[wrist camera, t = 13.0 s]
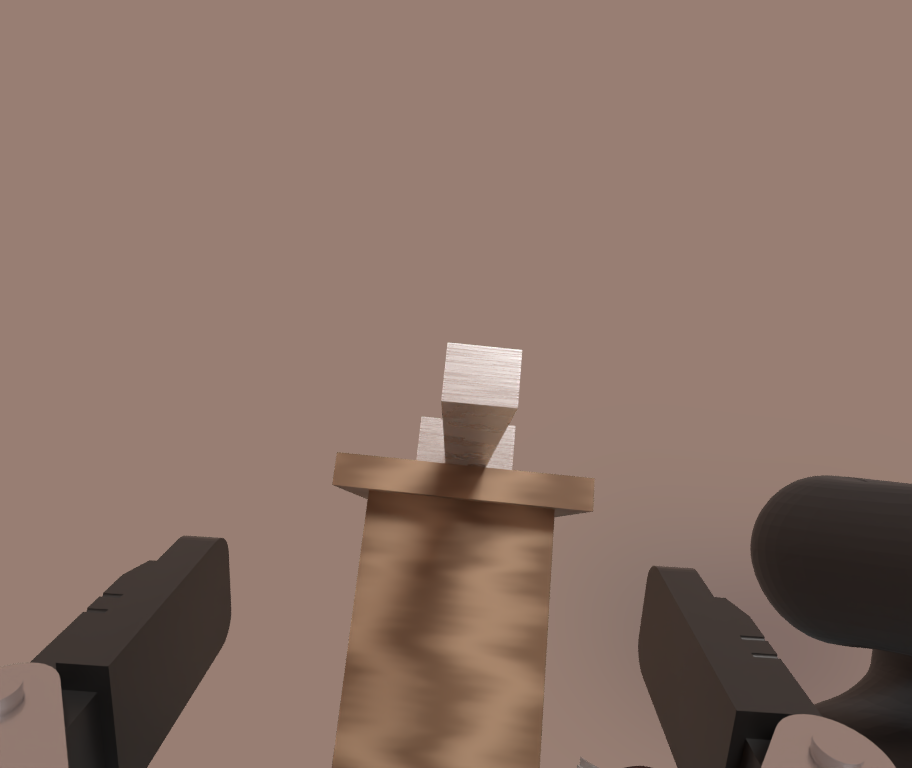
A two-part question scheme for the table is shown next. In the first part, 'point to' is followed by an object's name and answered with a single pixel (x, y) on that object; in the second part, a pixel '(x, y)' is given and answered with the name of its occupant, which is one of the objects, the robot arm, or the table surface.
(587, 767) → the food container
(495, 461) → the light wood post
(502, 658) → the stand
